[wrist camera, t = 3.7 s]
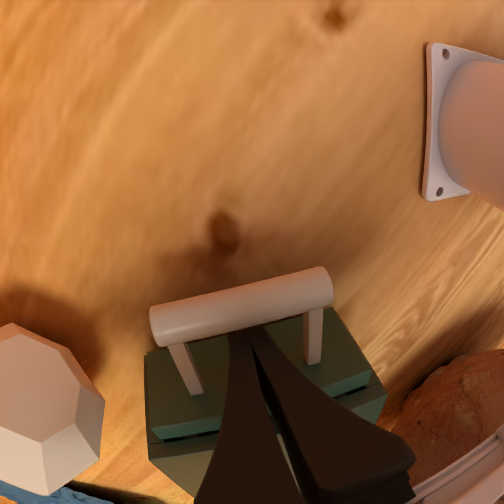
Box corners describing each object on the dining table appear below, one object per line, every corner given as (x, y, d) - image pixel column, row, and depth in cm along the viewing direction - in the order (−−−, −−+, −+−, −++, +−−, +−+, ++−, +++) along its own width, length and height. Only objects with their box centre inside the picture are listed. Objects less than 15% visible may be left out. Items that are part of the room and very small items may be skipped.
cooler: (143, 355, 16) (148, 460, 11) (334, 308, 17) (389, 394, 12) (205, 454, 24) (218, 516, 19) (322, 424, 25) (347, 480, 20)
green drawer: (109, 274, 12) (95, 356, 8) (335, 222, 13) (393, 282, 10) (207, 453, 22) (217, 500, 18) (320, 423, 23) (339, 466, 20)
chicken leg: (-35, 402, 16) (-13, 497, 12) (-64, 280, 8) (-47, 499, 4) (47, 403, 22) (74, 490, 18) (103, 298, 14) (159, 474, 10)
